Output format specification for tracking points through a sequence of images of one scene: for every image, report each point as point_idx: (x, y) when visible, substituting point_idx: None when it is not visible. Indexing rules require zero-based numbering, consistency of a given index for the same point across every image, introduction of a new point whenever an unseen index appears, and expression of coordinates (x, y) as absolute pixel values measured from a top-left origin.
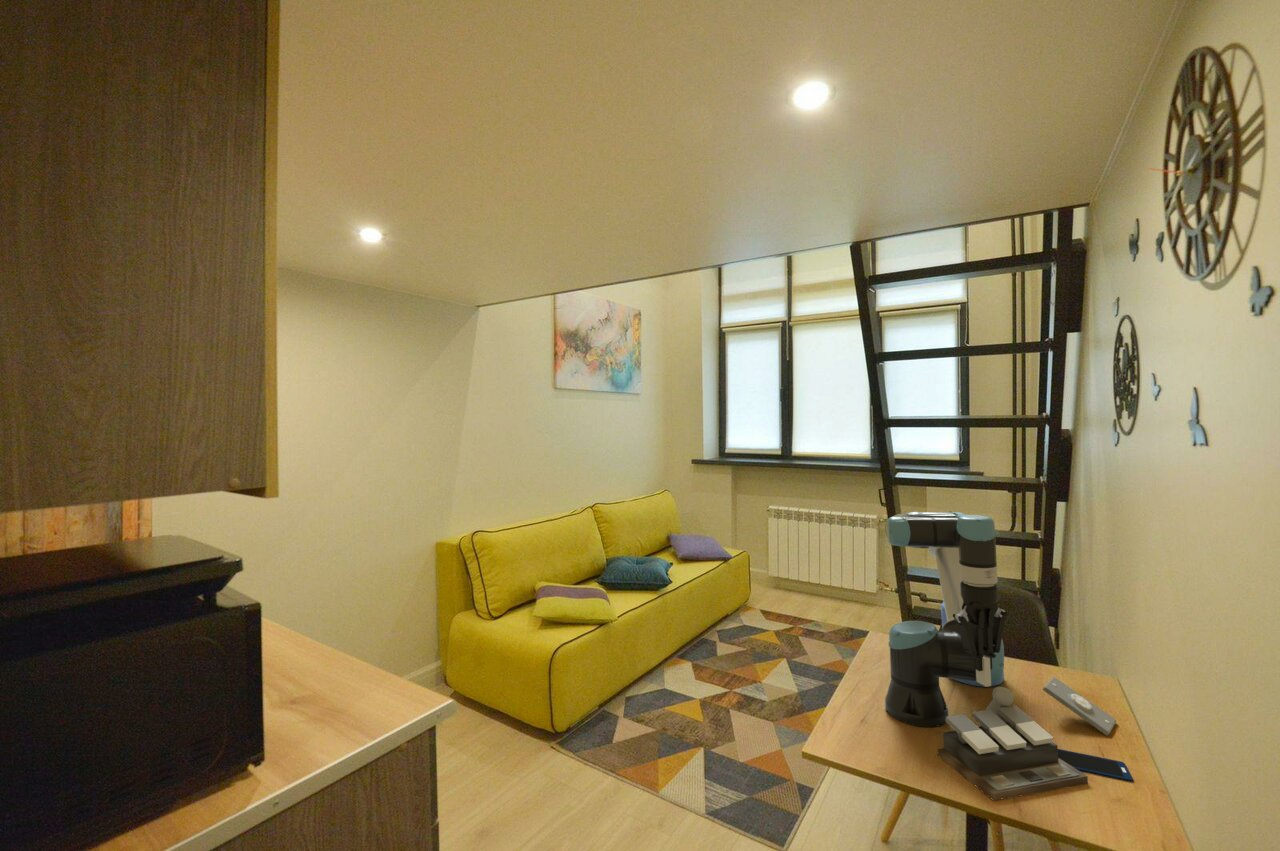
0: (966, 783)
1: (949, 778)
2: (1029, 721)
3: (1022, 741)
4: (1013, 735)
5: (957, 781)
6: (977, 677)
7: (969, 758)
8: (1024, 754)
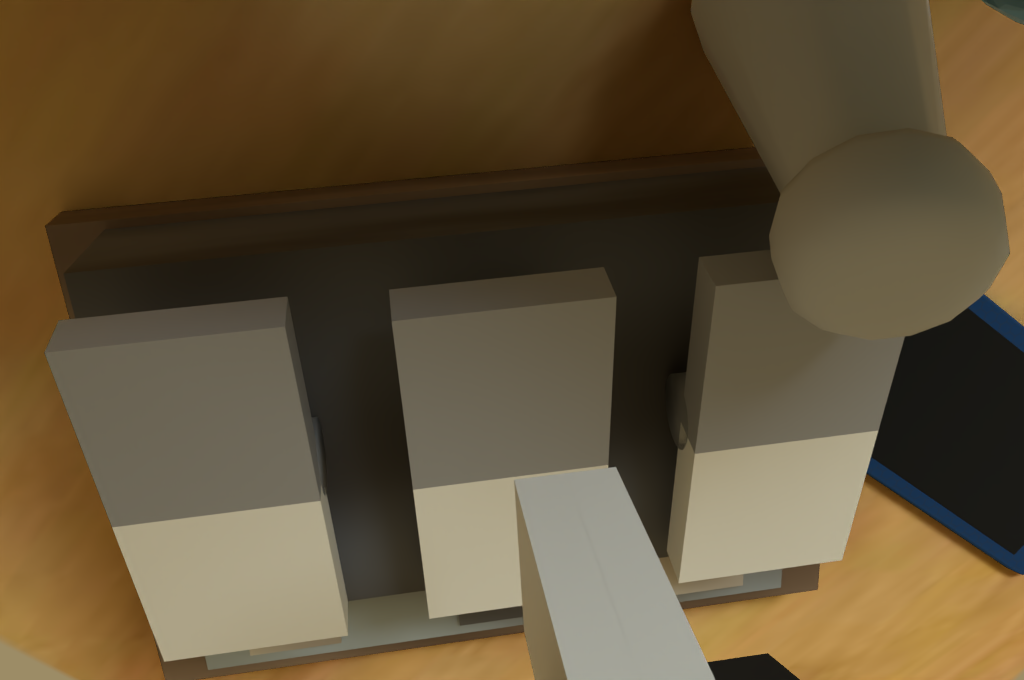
0: (103, 512)
1: (13, 459)
2: (835, 433)
3: None
4: None
5: (53, 490)
6: (528, 541)
7: None
8: None
